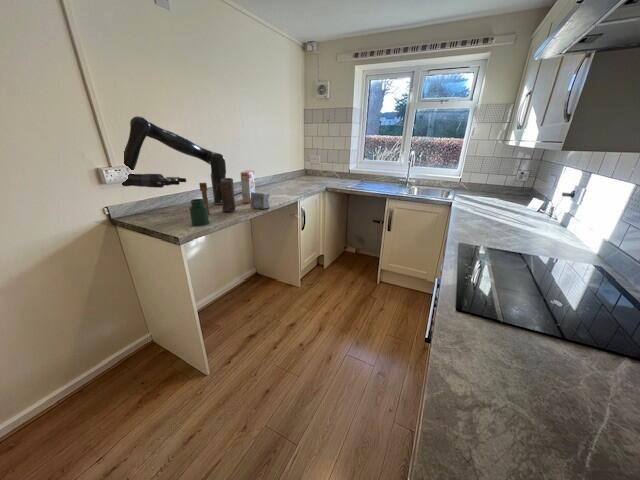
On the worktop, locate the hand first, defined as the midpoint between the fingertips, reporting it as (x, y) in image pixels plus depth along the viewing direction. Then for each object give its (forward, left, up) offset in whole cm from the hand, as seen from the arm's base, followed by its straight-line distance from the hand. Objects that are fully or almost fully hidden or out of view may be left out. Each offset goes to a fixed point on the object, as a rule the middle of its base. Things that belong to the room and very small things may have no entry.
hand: (182, 181), depth 146 cm
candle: (-16, +17, -19) cm, 30 cm away
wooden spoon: (-5, +10, -19) cm, 22 cm away
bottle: (+9, +20, -19) cm, 29 cm away
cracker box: (-44, +10, -19) cm, 49 cm away
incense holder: (-32, +29, -19) cm, 47 cm away
